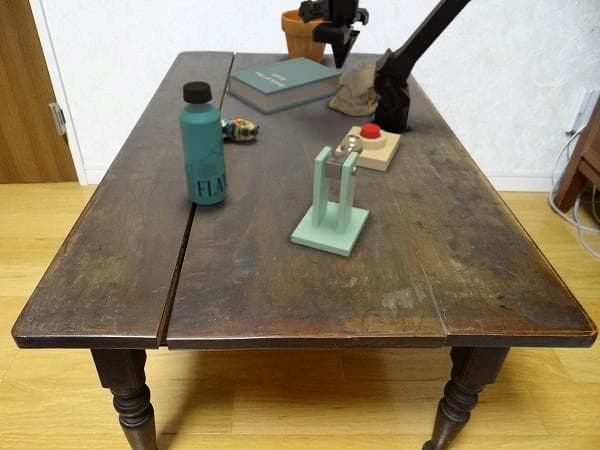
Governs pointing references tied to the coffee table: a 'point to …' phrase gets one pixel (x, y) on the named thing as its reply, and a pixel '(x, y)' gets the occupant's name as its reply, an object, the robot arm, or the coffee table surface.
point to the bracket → (332, 211)
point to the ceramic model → (357, 92)
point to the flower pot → (301, 37)
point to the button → (370, 131)
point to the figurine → (238, 129)
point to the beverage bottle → (202, 145)
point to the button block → (375, 149)
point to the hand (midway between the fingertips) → (339, 68)
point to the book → (283, 84)
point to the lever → (343, 156)
